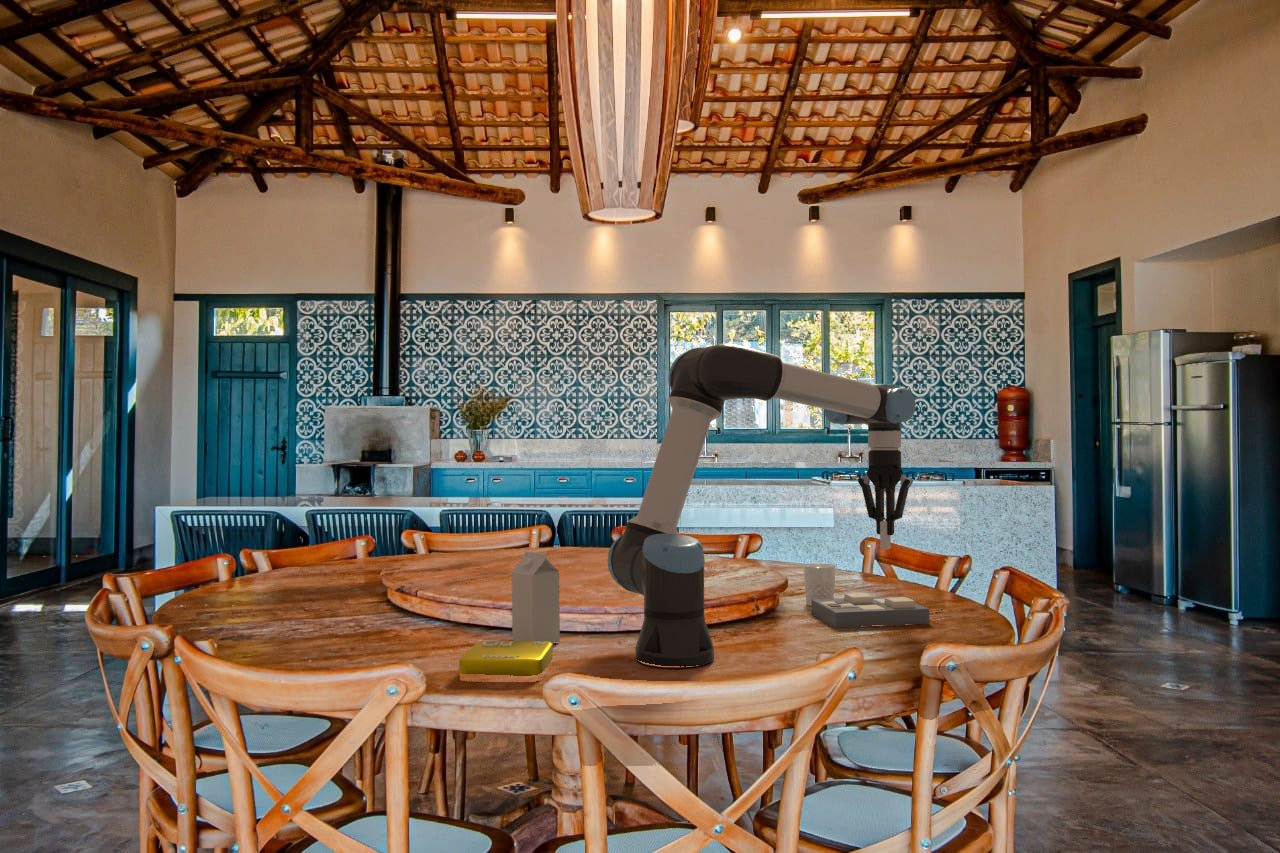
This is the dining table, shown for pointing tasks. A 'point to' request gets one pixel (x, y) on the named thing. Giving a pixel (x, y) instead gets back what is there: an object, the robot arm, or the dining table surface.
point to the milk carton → (535, 600)
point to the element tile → (507, 658)
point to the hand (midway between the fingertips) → (885, 548)
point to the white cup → (819, 581)
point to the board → (866, 613)
